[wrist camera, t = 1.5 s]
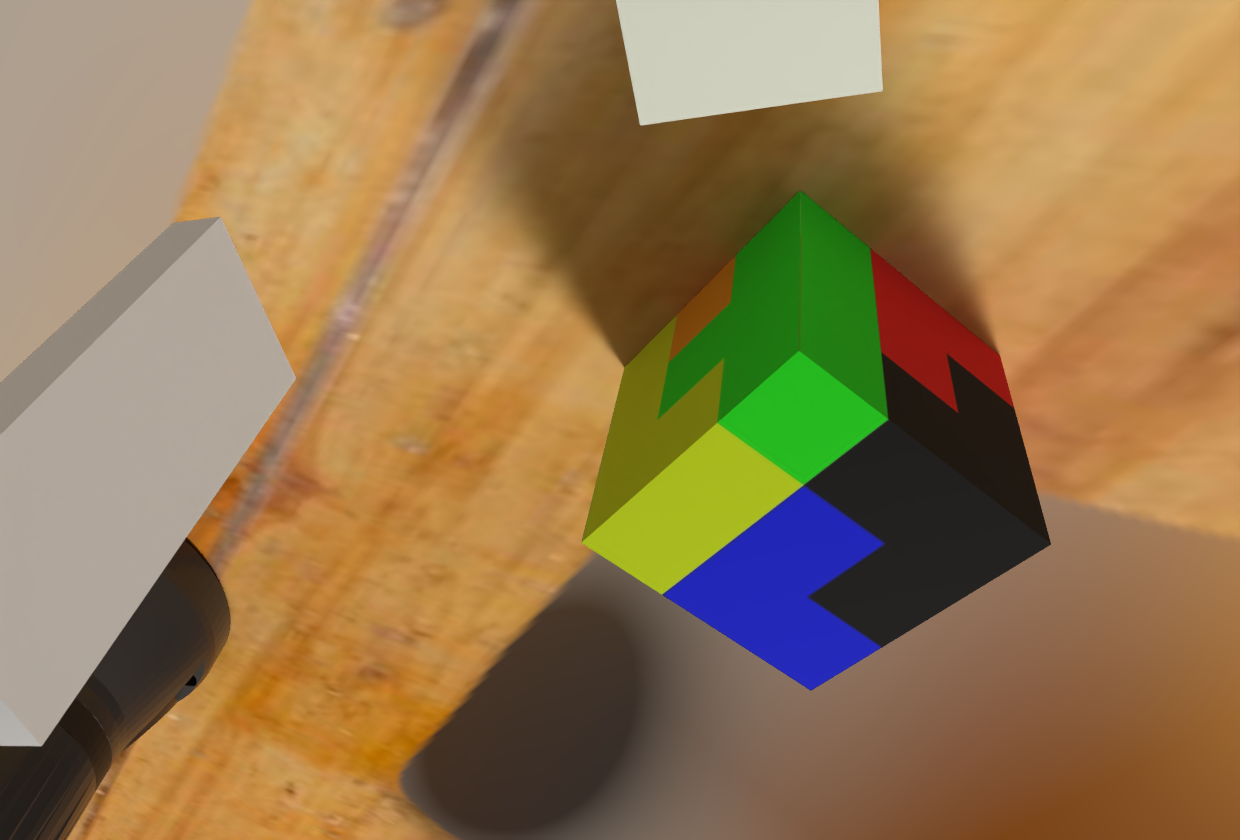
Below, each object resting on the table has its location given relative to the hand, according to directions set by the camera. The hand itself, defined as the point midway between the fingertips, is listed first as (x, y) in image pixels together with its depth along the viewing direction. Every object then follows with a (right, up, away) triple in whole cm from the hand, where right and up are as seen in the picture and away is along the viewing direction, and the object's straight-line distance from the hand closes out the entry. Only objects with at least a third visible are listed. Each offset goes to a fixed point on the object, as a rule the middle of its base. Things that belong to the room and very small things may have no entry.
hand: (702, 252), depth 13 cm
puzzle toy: (+6, 0, +26) cm, 27 cm away
